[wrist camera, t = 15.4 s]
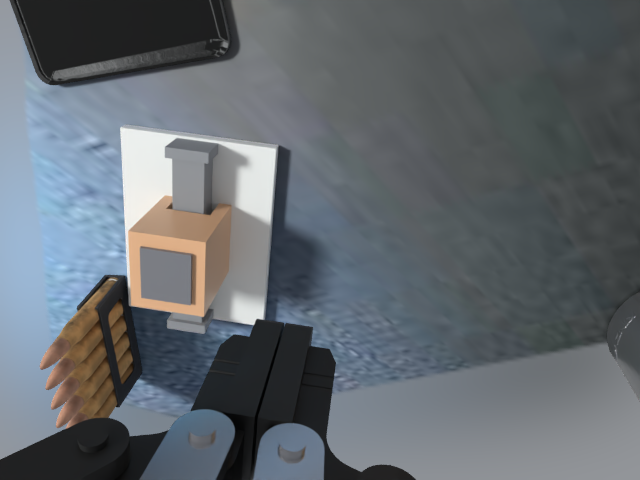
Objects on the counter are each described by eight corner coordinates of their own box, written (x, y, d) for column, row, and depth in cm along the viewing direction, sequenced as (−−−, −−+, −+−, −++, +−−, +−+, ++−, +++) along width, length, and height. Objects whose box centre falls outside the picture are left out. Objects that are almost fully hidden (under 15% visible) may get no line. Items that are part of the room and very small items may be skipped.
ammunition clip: (142, 373, 53) (80, 472, 43) (124, 372, 54) (58, 470, 43) (124, 275, 49) (50, 358, 38) (104, 274, 49) (25, 356, 38)
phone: (231, 54, 39) (41, 87, 42) (235, 53, 40) (49, 84, 43) (203, -71, 36) (-1, -28, 39) (208, -70, 37) (9, -27, 40)
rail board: (278, 145, 42) (269, 158, 39) (265, 320, 49) (256, 344, 46) (125, 124, 43) (104, 136, 40) (133, 300, 50) (116, 322, 47)
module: (231, 204, 44) (204, 244, 37) (228, 271, 46) (202, 319, 40) (164, 195, 44) (126, 232, 37) (165, 261, 47) (129, 307, 40)
